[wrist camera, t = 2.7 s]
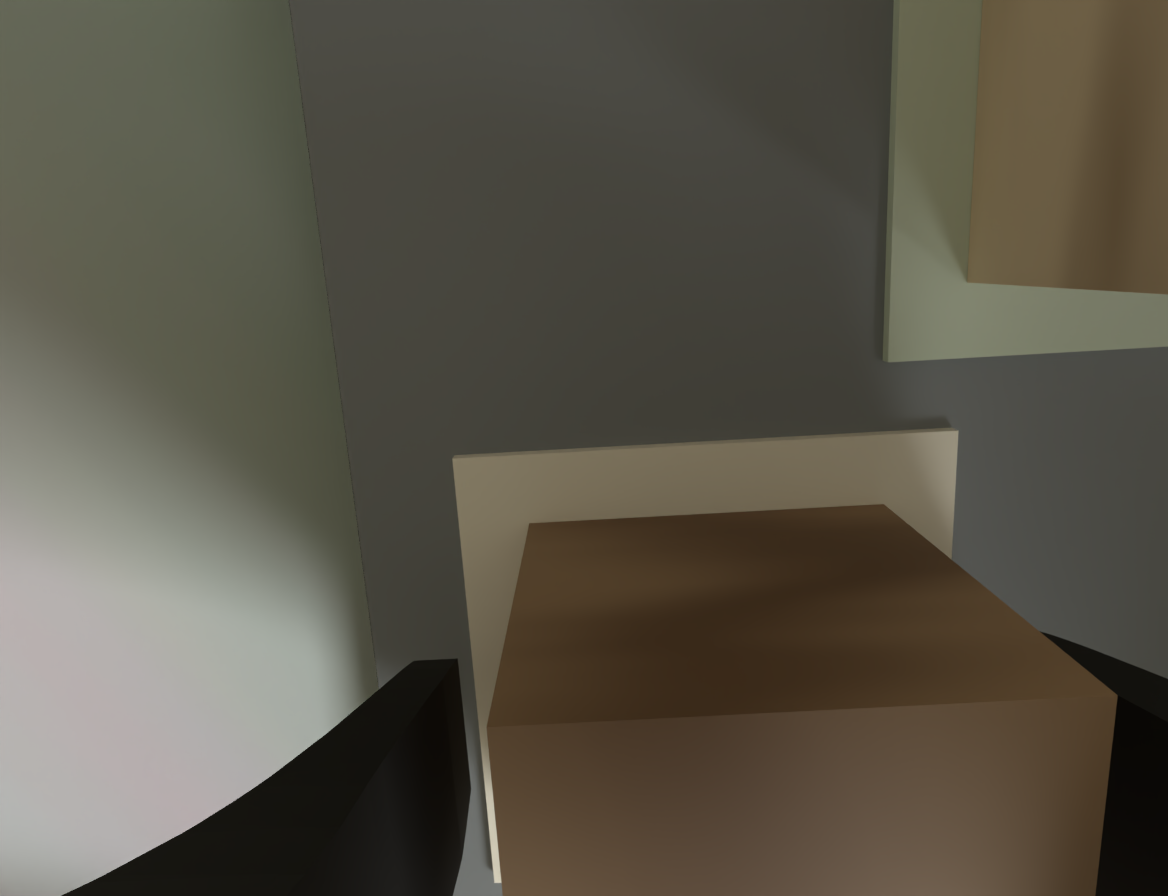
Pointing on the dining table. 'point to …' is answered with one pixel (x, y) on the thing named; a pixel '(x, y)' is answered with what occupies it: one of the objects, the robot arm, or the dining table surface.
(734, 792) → the walnut block
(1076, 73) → the oak block
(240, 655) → the dining table surface
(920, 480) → the board
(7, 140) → the dining table surface
